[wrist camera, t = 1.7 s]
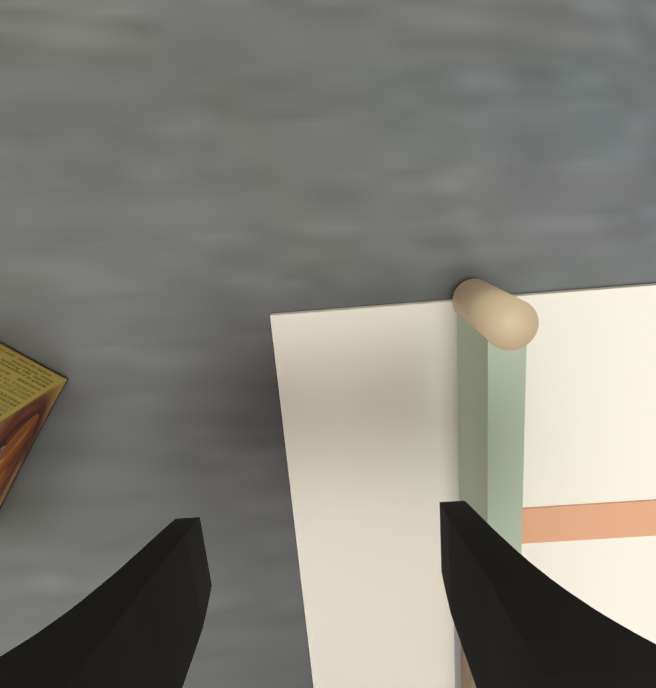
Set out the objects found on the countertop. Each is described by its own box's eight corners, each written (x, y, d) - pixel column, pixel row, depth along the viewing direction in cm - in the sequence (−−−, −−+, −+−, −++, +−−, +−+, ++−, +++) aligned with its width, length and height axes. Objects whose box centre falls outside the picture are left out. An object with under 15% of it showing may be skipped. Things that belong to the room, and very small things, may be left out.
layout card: (704, 716, 26) (711, 726, 25) (320, 735, 26) (320, 744, 26) (773, 273, 20) (784, 275, 19) (271, 313, 20) (269, 316, 20)
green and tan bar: (492, 509, 22) (530, 582, 17) (455, 511, 22) (484, 585, 17) (494, 277, 19) (539, 297, 15) (451, 280, 19) (485, 301, 15)
